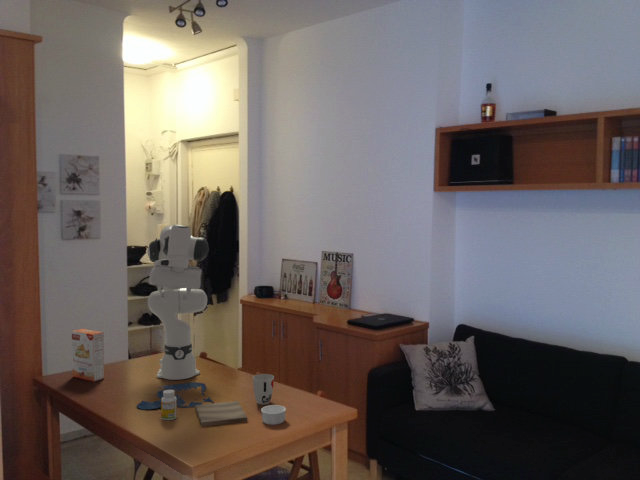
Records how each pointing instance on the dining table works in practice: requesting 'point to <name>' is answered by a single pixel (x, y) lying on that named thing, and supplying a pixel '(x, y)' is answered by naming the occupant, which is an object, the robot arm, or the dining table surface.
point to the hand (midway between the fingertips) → (173, 298)
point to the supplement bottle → (168, 405)
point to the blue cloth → (179, 401)
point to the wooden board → (220, 413)
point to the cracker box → (88, 354)
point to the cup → (263, 388)
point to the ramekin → (273, 414)
